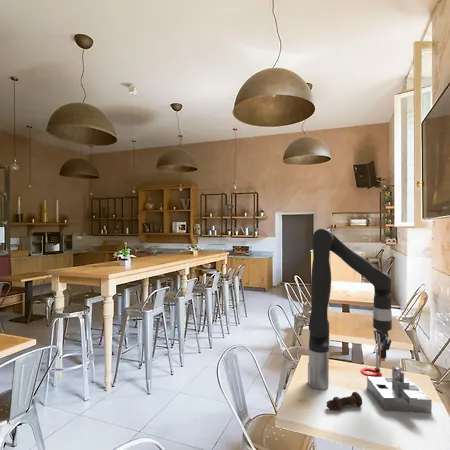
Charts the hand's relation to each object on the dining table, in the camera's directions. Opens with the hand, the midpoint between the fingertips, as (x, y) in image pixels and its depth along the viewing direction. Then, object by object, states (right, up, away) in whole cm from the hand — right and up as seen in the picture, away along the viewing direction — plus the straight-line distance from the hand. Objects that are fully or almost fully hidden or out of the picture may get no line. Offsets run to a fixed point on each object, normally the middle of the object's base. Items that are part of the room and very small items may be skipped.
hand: (382, 356), depth 144 cm
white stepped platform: (+6, -19, -3) cm, 20 cm away
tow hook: (+6, -19, +26) cm, 33 cm away
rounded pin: (0, -2, 0) cm, 2 cm away
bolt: (-20, -19, -7) cm, 28 cm away
